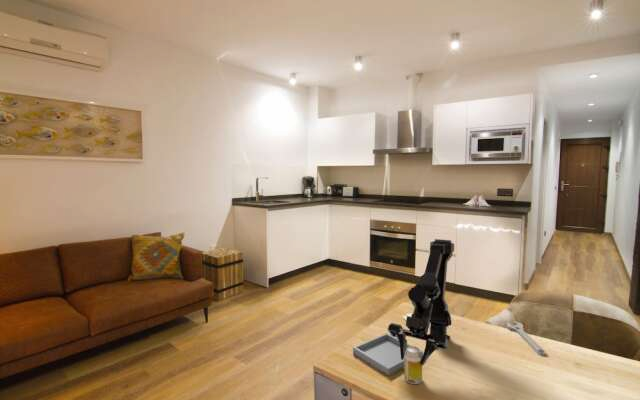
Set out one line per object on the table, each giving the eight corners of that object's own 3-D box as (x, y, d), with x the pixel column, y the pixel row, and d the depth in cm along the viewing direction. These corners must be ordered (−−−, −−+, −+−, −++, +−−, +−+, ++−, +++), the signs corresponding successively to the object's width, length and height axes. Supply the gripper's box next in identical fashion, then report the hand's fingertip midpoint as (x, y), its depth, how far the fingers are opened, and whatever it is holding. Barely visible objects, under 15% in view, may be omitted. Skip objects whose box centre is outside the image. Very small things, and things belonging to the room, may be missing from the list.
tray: (386, 339, 137) (386, 333, 137) (422, 357, 123) (422, 351, 123) (353, 353, 127) (353, 347, 127) (388, 376, 113) (388, 368, 113)
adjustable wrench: (547, 357, 122) (547, 352, 122) (527, 356, 123) (527, 351, 123) (520, 325, 146) (520, 321, 146) (503, 324, 148) (503, 320, 147)
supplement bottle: (426, 381, 109) (426, 351, 108) (412, 387, 107) (412, 355, 106) (414, 372, 114) (414, 343, 113) (400, 377, 112) (400, 347, 111)
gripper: (389, 299, 117) (376, 345, 109) (446, 310, 107) (437, 361, 99) (397, 313, 124) (386, 357, 116) (451, 325, 114) (444, 373, 106)
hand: (411, 362), depth 109 cm, fingers open, 6 cm apart
